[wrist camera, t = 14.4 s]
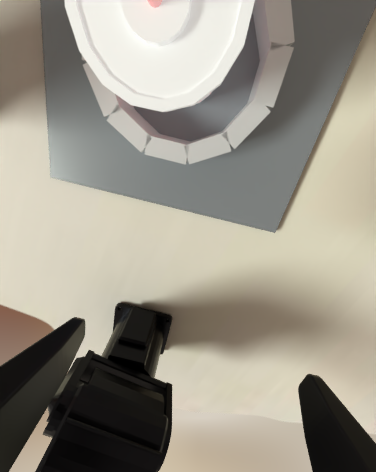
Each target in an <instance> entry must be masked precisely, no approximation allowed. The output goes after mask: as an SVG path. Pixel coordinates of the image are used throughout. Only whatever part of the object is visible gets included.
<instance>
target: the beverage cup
mask: <svg viewBox="0 0 376 472" xmlns="http://www.w3.org/2000/svg"><path fill="white" fill-rule="evenodd" d="M254 2H255V0H65V9H66V12H67V15H68V18H69V21H70V24H71V27H72V30H73V33H74V36H75V39H76V43H77V46H78V49H79V51H80V53H81V54H82V56H83V57H84V59H85V60H86V62H87V63H88V64H89V66H90V67H91V69H92V70H93V72H94V73H95V75H96V76H97V78H98V79H99V80H100V82H101V83H102V85H104V86H105V87H106V88H108V89H109V90H111V91H112V92H113V93H115V94H116V95H118V96H119V97H120V98H122V99H123V100H124V101H126V102H127V103H129V104H130V105H133V106H137V107H142V108H146V109H151V110H156V111H160V112H168V111H172V110H176V109H180V108H185V107H189V106H193V105H195V104H198V103H200V102H201V101H203V100H204V99H205V98H206V97H208V96H209V95H210V94H211V92H212V91H213V90H215V89H216V88H217V87H218V86H220V85H221V83H222V82H223V80H224V78H225V77H226V75H227V73H228V72H229V70H230V68H231V67H232V65H233V64H234V62H235V60H236V59H237V57H238V55H239V54H240V52H241V50H242V49H243V47H244V44H245V39H246V35H247V31H248V27H249V23H250V19H251V14H252V10H253V6H254Z"/></svg>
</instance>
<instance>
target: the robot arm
mask: <svg viewBox="0 0 376 472" xmlns="http://www.w3.org/2000/svg"><path fill="white" fill-rule="evenodd" d="M119 307H120V308H119ZM167 319H169V320H167ZM171 322H172V317H171V316H170V315H167V314H163V313H159V312H155V311H151V310H147V309H143V308H139V307H134V306H130V305H126V304H122V303H118V304H117V305H116V308H115V316H114V326H113V333H112V335H111V338H110V340H109V342H108V344H107V346H106V348H105V350H104V352H103V354H102V356H100V355H98V354H95V353H94V352H93V351H91V350H89V351H88V353H87V354H86V356H85V357H84V356H83V357H80V358H76V360H75V362H74V363H73V365H72V367H71V369H70V370H69V368H70V366H71V364H72V362H73V360H74V358H75V356H76V353H77V351H78V349H79V347H80V345H81V343H82V341H83V339H84V336H85V320H84V319H81V318H77V317H74V318H72V319H70V320H69V321H67V322H66V323H64V324H63V325H61V326H60V327H58V328H57V329H55V330H54V331H52V332H51V333H49V334H48V335H46V336H45V337H44V338H42V339H40V340H39V341H38V342H36V343H34V344H33V345H31V346H30V347H28V348H27V349H25V350H24V351H22V352H21V353H19V354H18V355H16V356H15V357H14V358H12V359H10V360H9V361H8V362H6V363H4V364H3V365H1V366H0V472H9V470H10V469H11V467H12V465H13V464H14V462H15V460H16V459H17V457H18V455H19V454H20V452H21V450H22V449H23V447H24V445H25V444H26V442H27V440H28V439H29V437H30V435H31V434H32V432H33V430H34V429H35V427H36V425H37V424H38V422H39V420H40V419H41V417H42V415H43V414H44V412H45V410H46V409H47V407H48V411H49V417H48V419H47V422H49V423H48V425H47V427H46V428H45V430H44V432H43V435H45V436H48V437H52V440H51V442H50V444H49V446H48V448H47V450H46V452H45V454H44V456H43V458H42V460H41V462H40V464H39V466H38V468H37V470H36V471H35V472H158V471H159V470H160V468H161V466H162V464H163V461H164V459H165V456H166V453H167V450H168V446H169V442H170V437H171V429H172V384H170V383H165V382H162V381H160V380H157V379H155V378H154V377H155V373H156V369H157V365H158V360H159V356H160V354H163V352H164V348H165V344H166V341H167V337H168V333H169V329H170V325H171ZM68 370H69V372H68ZM67 372H68V374H67ZM66 374H67V375H66ZM65 376H66V377H65ZM298 392H299V399H300V406H301V414H302V421H303V428H304V433H305V439H306V444H307V448H308V453H309V457H310V461H311V466H312V470H313V472H376V443H375V442H374V441H373V440H372V438H371V437H370V436H369V435H368V434H367V432H366V431H365V430H364V429H363V428H362V426H361V425H360V424H359V423H358V422H357V420H356V419H355V418H354V417H353V416H352V414H351V413H350V412H349V411H348V410H347V408H346V407H345V406H344V405H343V404H342V402H341V401H340V400H339V399H338V398H337V396H336V395H335V394H334V393H333V392H332V390H331V389H330V388H329V387H328V386H327V384H326V383H325V382H324V381H323V380H322V378H320V377H319V376H317V375H312V374H308V375H307V376H306V377H305V378H304V380H303V381H302V382H301V383H300V385H299V389H298Z"/></svg>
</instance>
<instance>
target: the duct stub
mask: <svg viewBox="0 0 376 472" xmlns="http://www.w3.org/2000/svg"><path fill="white" fill-rule="evenodd" d="M40 2H41V20H42V37H43V54H44V72H45V89H46V107H47V124H48V141H49V159H50V176H51V178H54V179H58V180H62V181H67V182H71V183H75V184H79V185H83V186H87V187H91V188H95V189H99V190H103V191H107V192H111V193H115V194H119V195H123V196H128V197H132V198H136V199H140V200H144V201H148V202H152V203H156V204H160V205H164V206H168V207H172V208H176V209H180V210H184V211H188V212H193V213H197V214H201V215H205V216H209V217H213V218H217V219H221V220H225V221H229V222H233V223H237V224H241V225H245V226H249V227H254V228H258V229H262V230H266V231H270V232H274V233H275V232H276V230H277V227H278V225H279V223H280V221H281V218H282V216H283V214H284V212H285V209H286V207H287V205H288V203H289V200H290V198H291V196H292V194H293V191H294V189H295V187H296V185H297V182H298V180H299V178H300V176H301V173H302V171H303V169H304V167H305V164H306V162H307V160H308V158H309V155H310V153H311V151H312V149H313V146H314V144H315V142H316V140H317V137H318V135H319V133H320V131H321V128H322V126H323V124H324V122H325V119H326V117H327V115H328V113H329V110H330V108H331V106H332V104H333V101H334V99H335V97H336V95H337V93H338V90H339V88H340V86H341V84H342V81H343V79H344V77H345V75H346V72H347V70H348V68H349V66H350V63H351V61H352V59H353V57H354V54H355V52H356V50H357V48H358V45H359V43H360V41H361V39H362V36H363V34H364V32H365V30H366V27H367V25H368V23H369V21H370V18H371V16H372V14H373V12H374V9H375V7H376V0H255V2H254V6H253V10H252V14H251V19H250V23H249V27H248V31H247V35H246V39H245V44H244V47H243V49H242V50H241V52H240V54H239V55H238V57H237V59H236V60H235V62H234V64H233V65H232V67H231V68H230V70H229V72H228V73H227V75H226V77H225V78H224V80H223V82H222V83H221V85H220V86H218V87H217V88H216V89H215V90H213V91H212V92H211V94H210V95H209V96H208V97H206V98H205V99H204V100H203V101H201V102H200V103H198V104H195V105H193V106H189V107H185V108H180V109H176V110H172V111H168V112H160V111H156V110H151V109H146V108H142V107H137V106H133V105H130V104H129V103H127V102H126V101H124V100H123V99H122V98H120V97H119V96H118V95H116V94H115V93H113V92H112V91H111V90H109V89H108V88H106V87H105V86H104V85H102V83H101V82H100V80H99V79H98V78H97V76H96V75H95V73H94V72H93V70H92V69H91V67H90V66H89V64H88V63H87V62H86V60H85V59H84V57H83V56H82V54H81V53H80V51H79V49H78V46H77V43H76V39H75V36H74V33H73V30H72V27H71V24H70V21H69V18H68V15H67V12H66V9H65V0H40Z"/></svg>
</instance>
